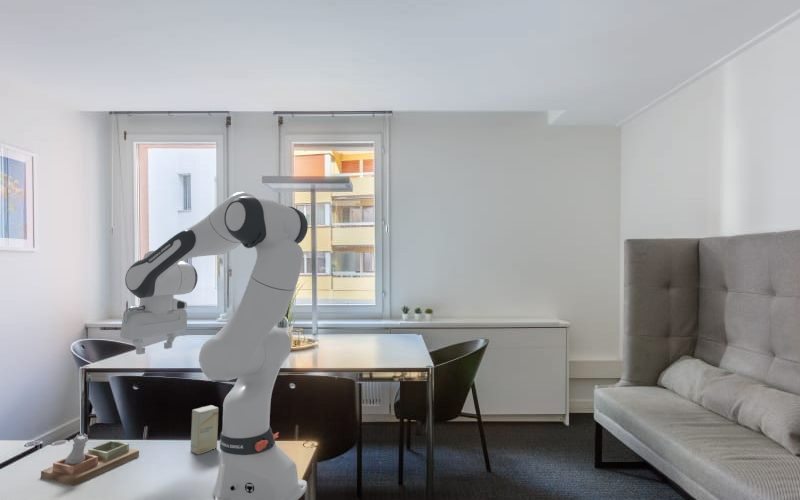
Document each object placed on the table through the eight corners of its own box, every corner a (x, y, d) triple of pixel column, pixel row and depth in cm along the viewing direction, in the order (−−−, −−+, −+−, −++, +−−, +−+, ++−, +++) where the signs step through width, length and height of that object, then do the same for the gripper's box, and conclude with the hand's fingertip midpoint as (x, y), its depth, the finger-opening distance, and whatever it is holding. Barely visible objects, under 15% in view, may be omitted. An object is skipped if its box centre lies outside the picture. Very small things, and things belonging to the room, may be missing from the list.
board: (138, 455, 123) (139, 443, 123) (73, 485, 106) (73, 471, 106) (108, 449, 127) (109, 437, 127) (40, 477, 110) (41, 463, 110)
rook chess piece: (88, 462, 115) (96, 435, 114) (73, 472, 110) (81, 443, 110) (74, 456, 115) (82, 429, 115) (59, 465, 111) (66, 437, 110)
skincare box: (197, 455, 124) (198, 412, 125) (189, 451, 127) (191, 409, 127) (218, 448, 129) (219, 407, 130) (210, 444, 132) (211, 404, 132)
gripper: (132, 307, 118) (130, 358, 117) (191, 302, 137) (189, 346, 137) (115, 306, 120) (113, 356, 120) (176, 301, 139) (174, 344, 139)
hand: (154, 351), depth 128 cm, fingers open, 8 cm apart
